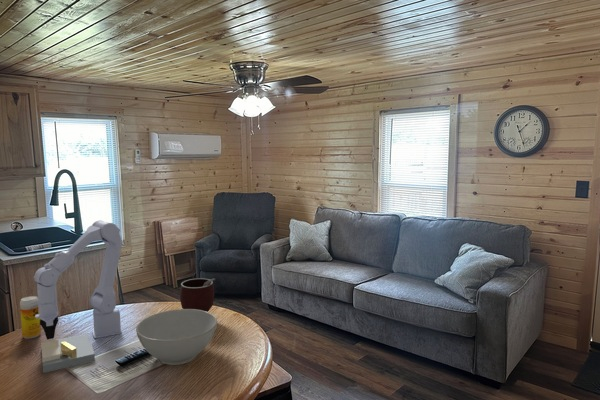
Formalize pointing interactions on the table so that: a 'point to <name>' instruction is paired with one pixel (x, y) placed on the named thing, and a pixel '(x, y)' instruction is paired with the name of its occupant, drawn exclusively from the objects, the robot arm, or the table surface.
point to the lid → (50, 350)
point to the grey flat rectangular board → (83, 356)
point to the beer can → (30, 317)
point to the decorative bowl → (176, 334)
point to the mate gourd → (197, 294)
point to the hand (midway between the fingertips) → (50, 338)
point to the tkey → (68, 350)
